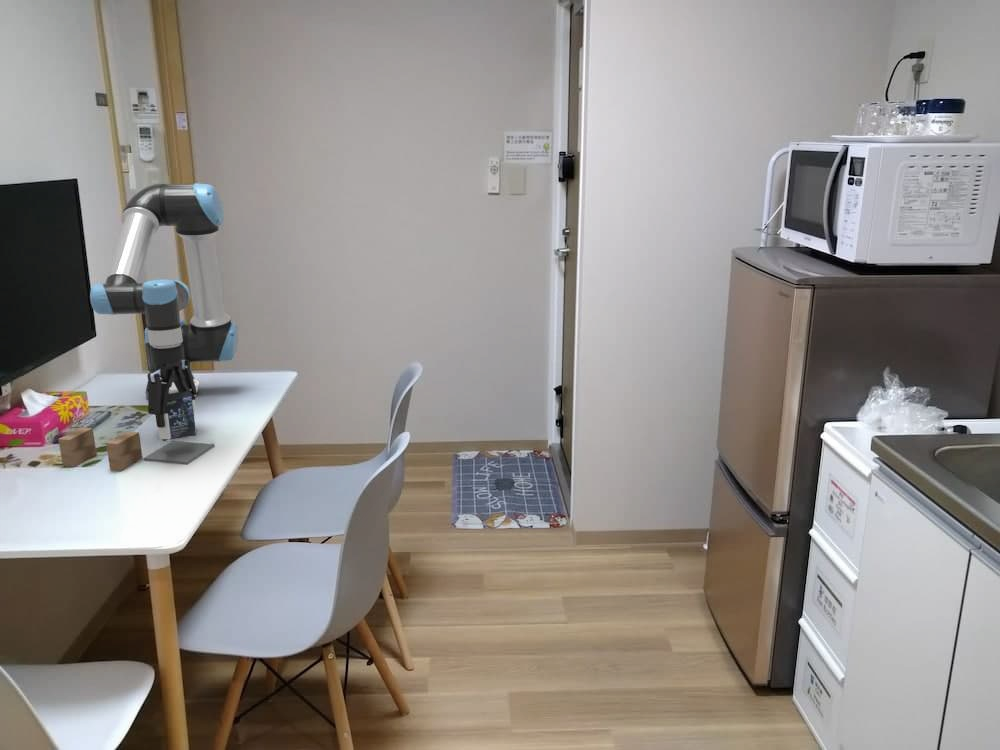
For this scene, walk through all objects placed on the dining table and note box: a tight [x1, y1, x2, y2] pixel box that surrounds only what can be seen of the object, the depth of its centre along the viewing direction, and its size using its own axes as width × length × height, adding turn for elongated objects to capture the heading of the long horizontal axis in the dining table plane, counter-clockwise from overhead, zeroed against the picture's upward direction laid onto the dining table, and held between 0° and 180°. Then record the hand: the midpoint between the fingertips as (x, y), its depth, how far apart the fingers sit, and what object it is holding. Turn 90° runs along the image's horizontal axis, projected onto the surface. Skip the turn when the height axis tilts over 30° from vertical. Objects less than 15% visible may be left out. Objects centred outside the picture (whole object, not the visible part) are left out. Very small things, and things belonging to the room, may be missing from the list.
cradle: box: [57, 427, 144, 472], centre depth 187 cm, size 8×16×7 cm, turn 79°
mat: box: [142, 440, 215, 465], centre depth 193 cm, size 12×12×1 cm
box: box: [160, 391, 197, 442], centre depth 191 cm, size 8×6×11 cm
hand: (177, 431), depth 192 cm, fingers closed on box, 9 cm apart
